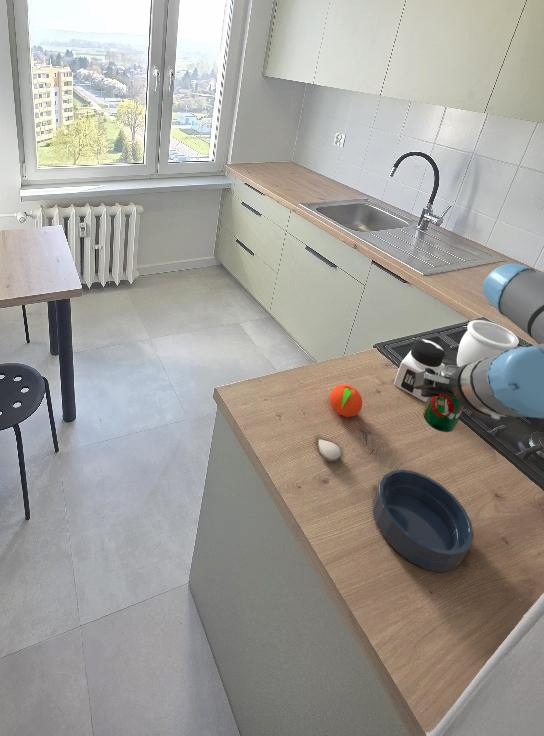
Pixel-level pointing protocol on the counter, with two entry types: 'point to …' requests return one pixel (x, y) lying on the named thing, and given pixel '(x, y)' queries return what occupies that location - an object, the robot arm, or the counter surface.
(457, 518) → the bowl
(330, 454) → the garlic clove
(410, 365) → the container
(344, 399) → the clementine
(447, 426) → the soda can
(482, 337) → the jar
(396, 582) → the counter surface
